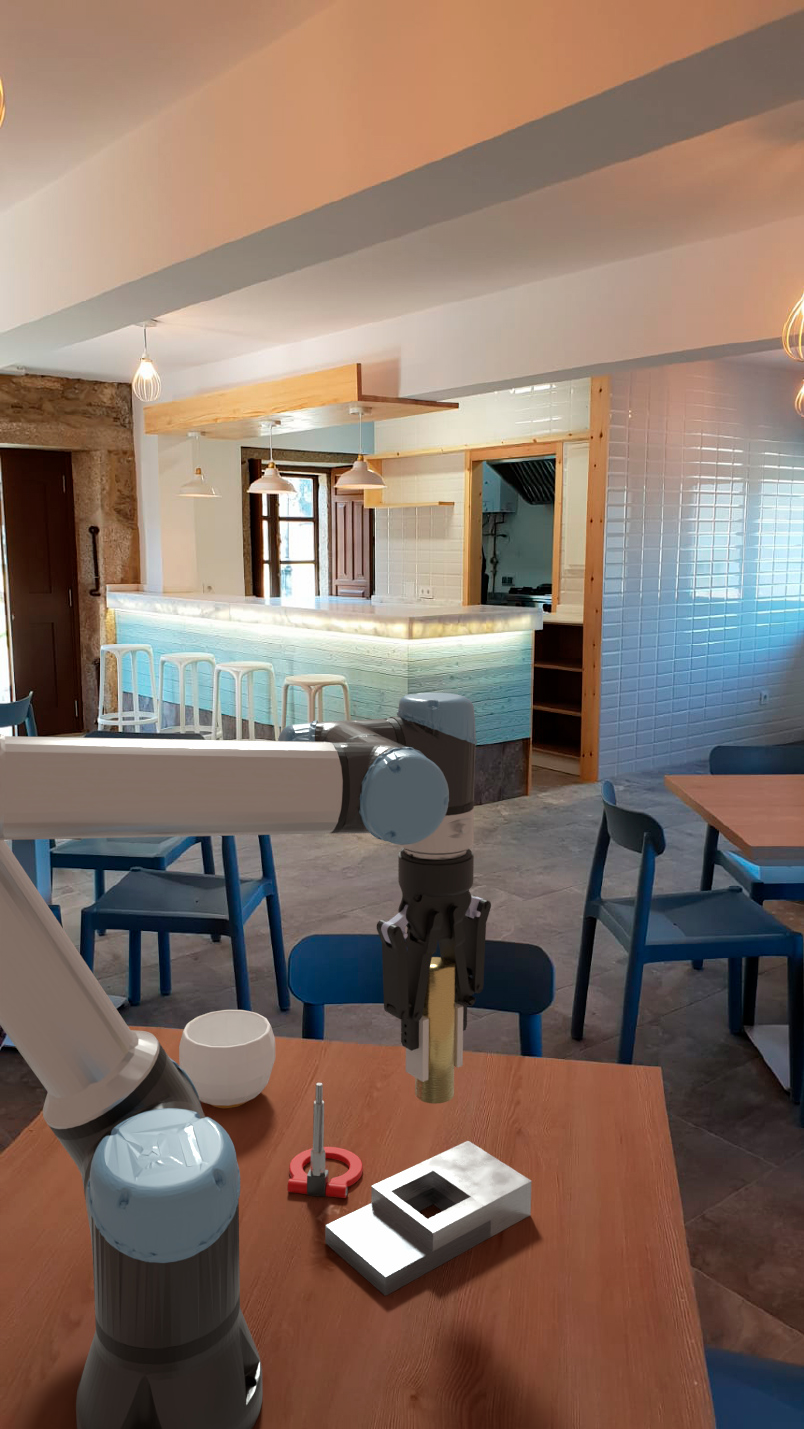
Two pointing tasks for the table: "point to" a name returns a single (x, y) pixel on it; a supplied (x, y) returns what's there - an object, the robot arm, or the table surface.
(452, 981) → the pin
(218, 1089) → the cup
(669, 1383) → the table surface
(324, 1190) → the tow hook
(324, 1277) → the table surface
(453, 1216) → the square hole base
